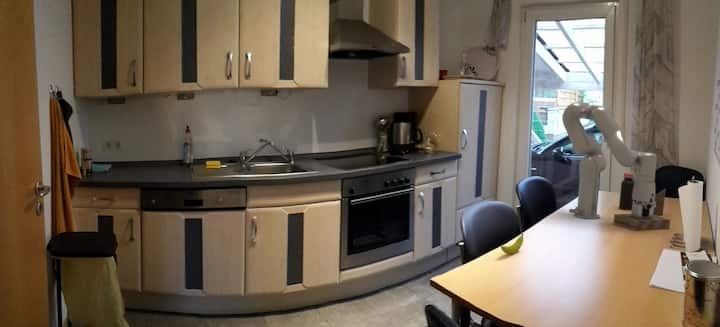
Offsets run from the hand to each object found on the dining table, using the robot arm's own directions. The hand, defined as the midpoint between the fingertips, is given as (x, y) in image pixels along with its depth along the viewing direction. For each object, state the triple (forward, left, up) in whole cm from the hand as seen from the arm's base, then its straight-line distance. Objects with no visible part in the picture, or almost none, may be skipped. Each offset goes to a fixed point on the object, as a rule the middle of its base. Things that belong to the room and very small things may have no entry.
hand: (641, 215), depth 259 cm
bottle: (+21, +34, -6) cm, 40 cm away
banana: (-88, -28, -6) cm, 92 cm away
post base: (0, 0, -5) cm, 5 cm away
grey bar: (0, 0, -2) cm, 2 cm away
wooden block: (+27, +22, -6) cm, 35 cm away
